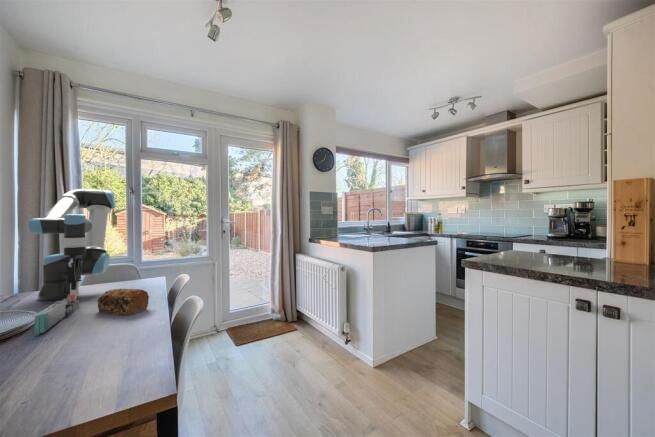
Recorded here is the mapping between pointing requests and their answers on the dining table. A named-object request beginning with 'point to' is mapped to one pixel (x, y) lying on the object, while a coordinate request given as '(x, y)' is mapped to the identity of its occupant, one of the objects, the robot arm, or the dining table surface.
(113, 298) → the bread
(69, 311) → the base
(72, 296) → the tab
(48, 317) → the jaw
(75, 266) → the robot arm
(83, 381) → the dining table surface
